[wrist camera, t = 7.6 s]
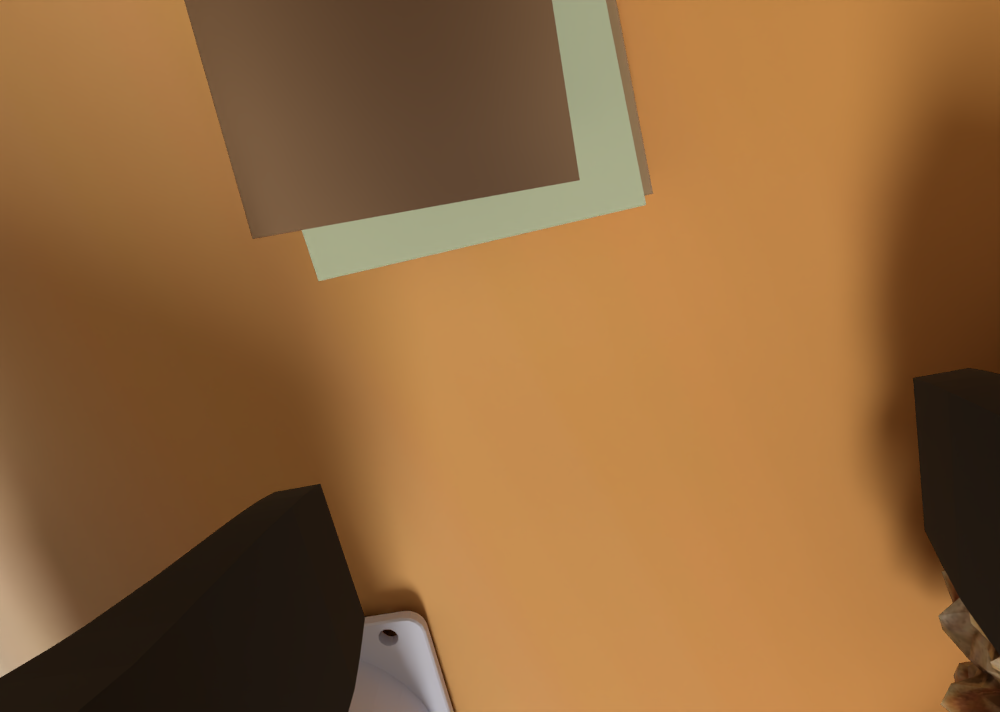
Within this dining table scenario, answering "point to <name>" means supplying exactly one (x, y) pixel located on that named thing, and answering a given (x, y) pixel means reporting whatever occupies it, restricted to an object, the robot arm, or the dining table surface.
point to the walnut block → (383, 104)
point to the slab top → (456, 225)
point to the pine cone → (987, 677)
